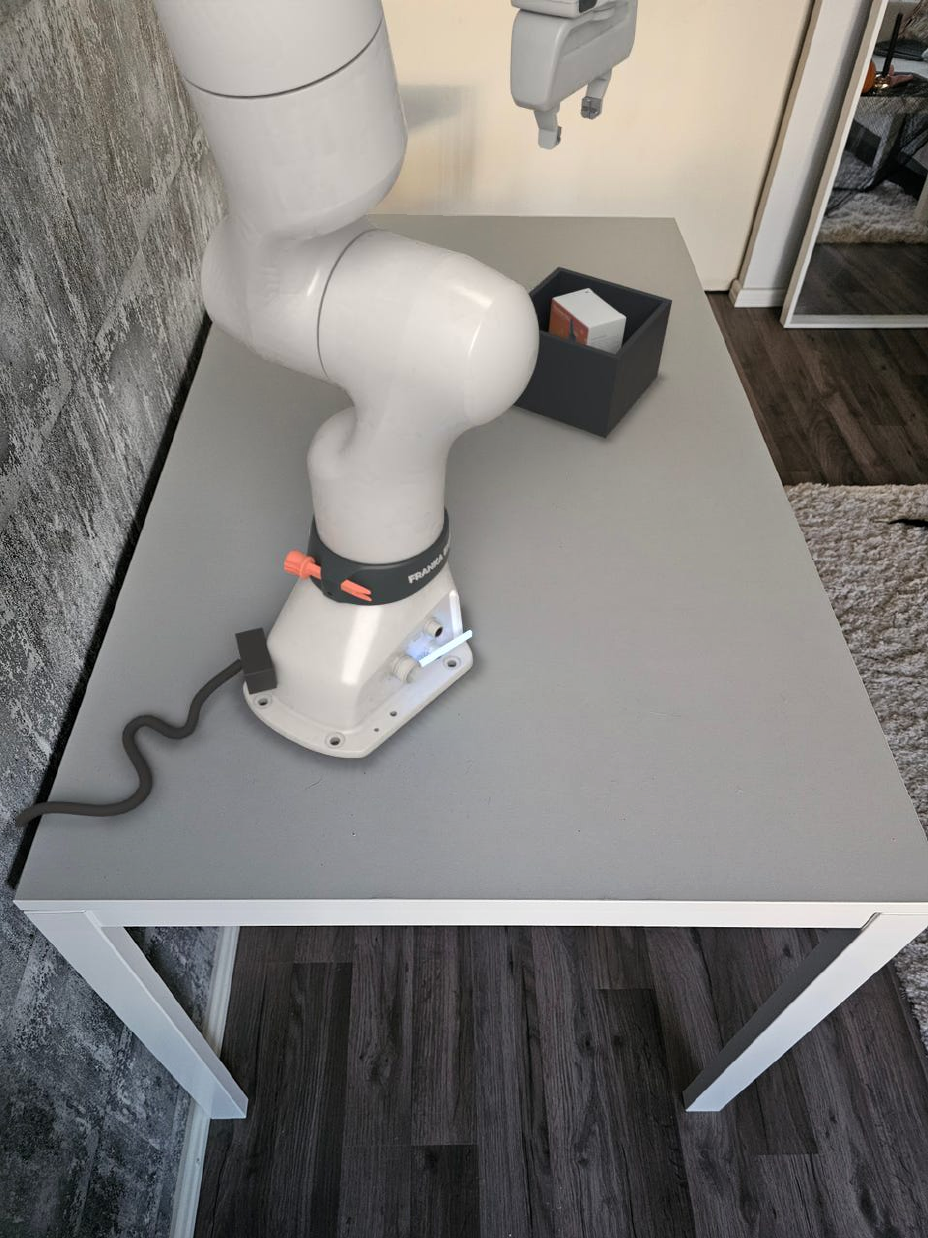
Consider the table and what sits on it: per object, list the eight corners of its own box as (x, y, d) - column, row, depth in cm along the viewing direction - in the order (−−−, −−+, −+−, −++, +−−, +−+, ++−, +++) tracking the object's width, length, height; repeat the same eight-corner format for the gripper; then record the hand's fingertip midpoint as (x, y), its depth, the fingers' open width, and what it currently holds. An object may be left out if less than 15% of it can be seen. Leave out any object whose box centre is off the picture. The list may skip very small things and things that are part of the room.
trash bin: (605, 438, 110) (618, 359, 102) (494, 397, 115) (497, 319, 107) (657, 376, 119) (672, 299, 111) (551, 342, 124) (558, 266, 116)
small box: (543, 372, 117) (550, 296, 110) (579, 361, 119) (588, 285, 111) (578, 404, 113) (588, 327, 105) (614, 392, 115) (627, 315, 107)
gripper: (603, -60, 90) (587, 94, 100) (500, -12, 78) (494, 157, 88) (662, -51, 88) (640, 106, 98) (566, 0, 76) (552, 171, 86)
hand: (570, 130), depth 93 cm, fingers open, 8 cm apart
